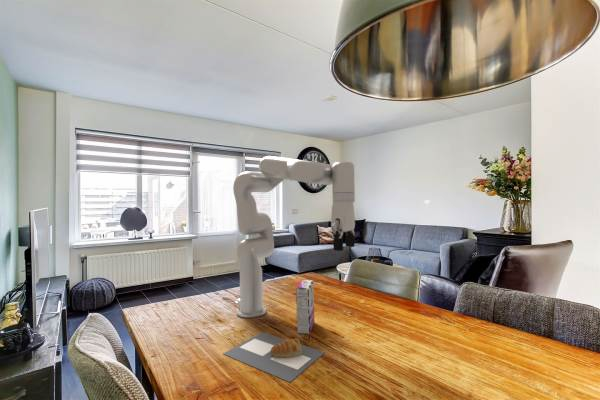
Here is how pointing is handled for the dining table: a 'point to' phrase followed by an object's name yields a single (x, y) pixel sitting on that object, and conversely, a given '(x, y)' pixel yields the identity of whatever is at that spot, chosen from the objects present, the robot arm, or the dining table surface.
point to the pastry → (287, 349)
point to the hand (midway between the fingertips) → (344, 248)
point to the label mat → (261, 358)
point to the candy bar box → (305, 306)
